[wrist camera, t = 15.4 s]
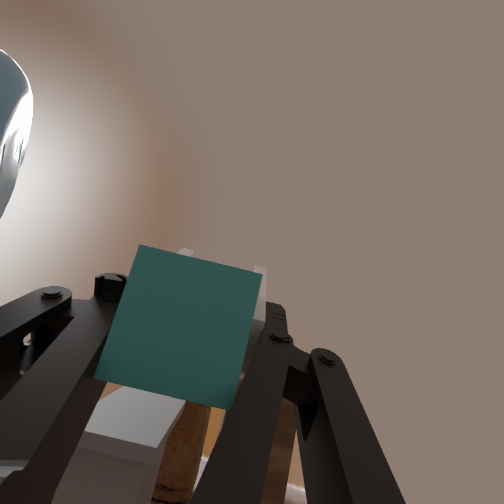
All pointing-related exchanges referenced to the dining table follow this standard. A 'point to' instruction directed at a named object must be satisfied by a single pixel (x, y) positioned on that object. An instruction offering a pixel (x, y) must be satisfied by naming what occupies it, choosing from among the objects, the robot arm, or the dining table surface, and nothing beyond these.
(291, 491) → the dining table surface
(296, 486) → the dining table surface
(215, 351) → the bar
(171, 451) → the brown bread chunk
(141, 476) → the low stand
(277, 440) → the tall stand
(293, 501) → the dining table surface
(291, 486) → the dining table surface
